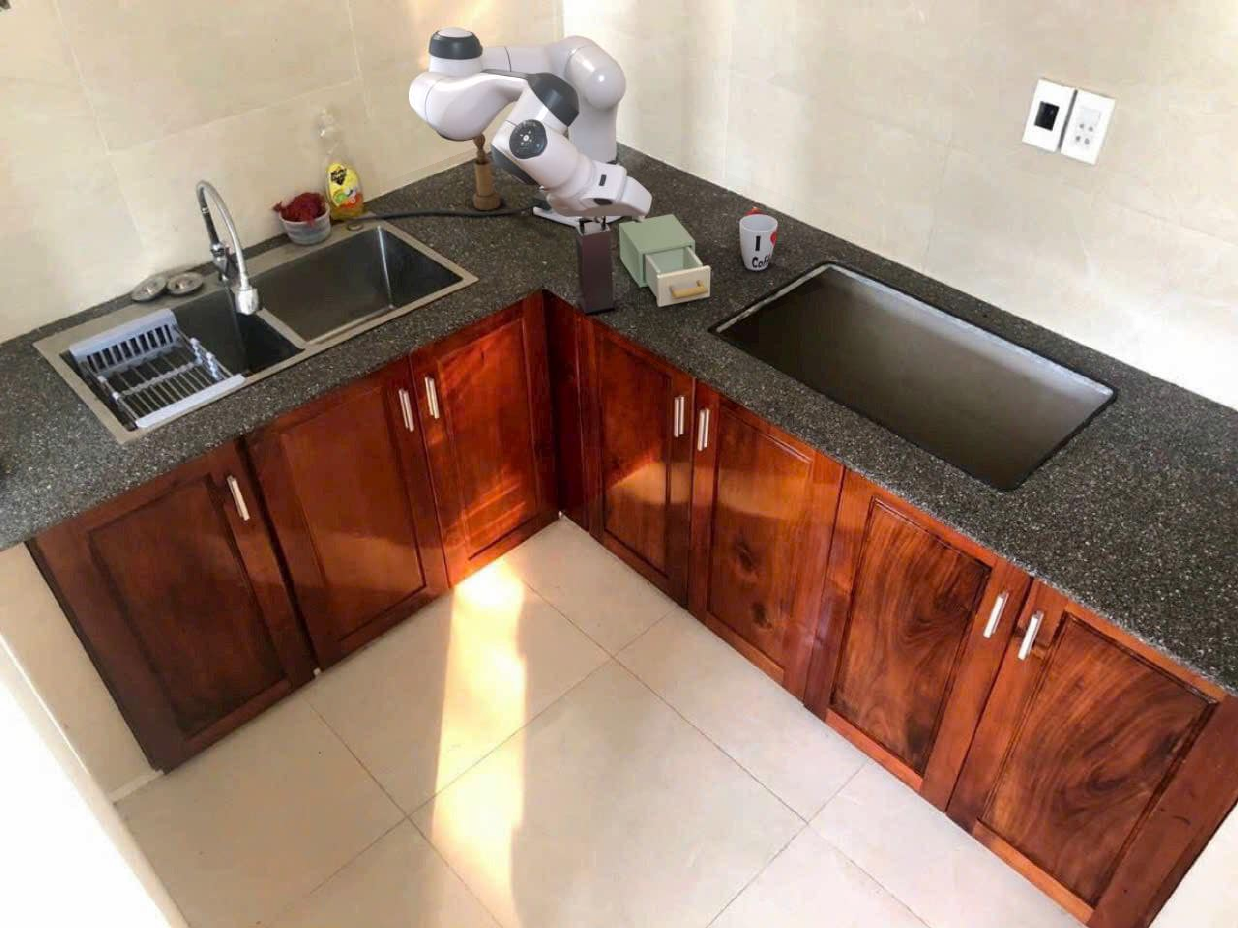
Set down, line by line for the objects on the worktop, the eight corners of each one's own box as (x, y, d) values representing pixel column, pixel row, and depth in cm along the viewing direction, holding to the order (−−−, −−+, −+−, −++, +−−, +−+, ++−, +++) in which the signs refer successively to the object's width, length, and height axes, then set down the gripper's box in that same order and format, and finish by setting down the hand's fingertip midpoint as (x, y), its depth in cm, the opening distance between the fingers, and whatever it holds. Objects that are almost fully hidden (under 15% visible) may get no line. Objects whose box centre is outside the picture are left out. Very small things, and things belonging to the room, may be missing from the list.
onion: (766, 233, 231) (768, 201, 226) (766, 245, 227) (769, 213, 221) (741, 232, 232) (743, 200, 226) (741, 244, 227) (743, 212, 222)
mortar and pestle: (505, 202, 247) (497, 131, 236) (489, 212, 243) (480, 141, 232) (484, 196, 250) (475, 126, 238) (468, 206, 246) (458, 136, 234)
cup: (750, 277, 216) (753, 235, 210) (730, 261, 222) (732, 220, 215) (781, 267, 219) (785, 226, 212) (761, 252, 224) (763, 211, 218)
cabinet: (694, 276, 217) (695, 241, 211) (639, 287, 214) (639, 251, 209) (672, 248, 227) (672, 213, 221) (620, 258, 224) (618, 223, 219)
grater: (615, 310, 208) (611, 220, 194) (585, 316, 206) (580, 225, 193) (608, 299, 211) (604, 209, 198) (579, 304, 210) (573, 215, 196)
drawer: (717, 306, 206) (718, 277, 201) (665, 317, 203) (665, 288, 199) (688, 268, 218) (688, 240, 214) (638, 278, 216) (638, 250, 211)
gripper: (530, 202, 182) (572, 235, 193) (621, 199, 170) (661, 235, 182) (539, 170, 183) (580, 205, 194) (630, 165, 171) (669, 203, 183)
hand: (620, 219), depth 188 cm, fingers open, 8 cm apart
